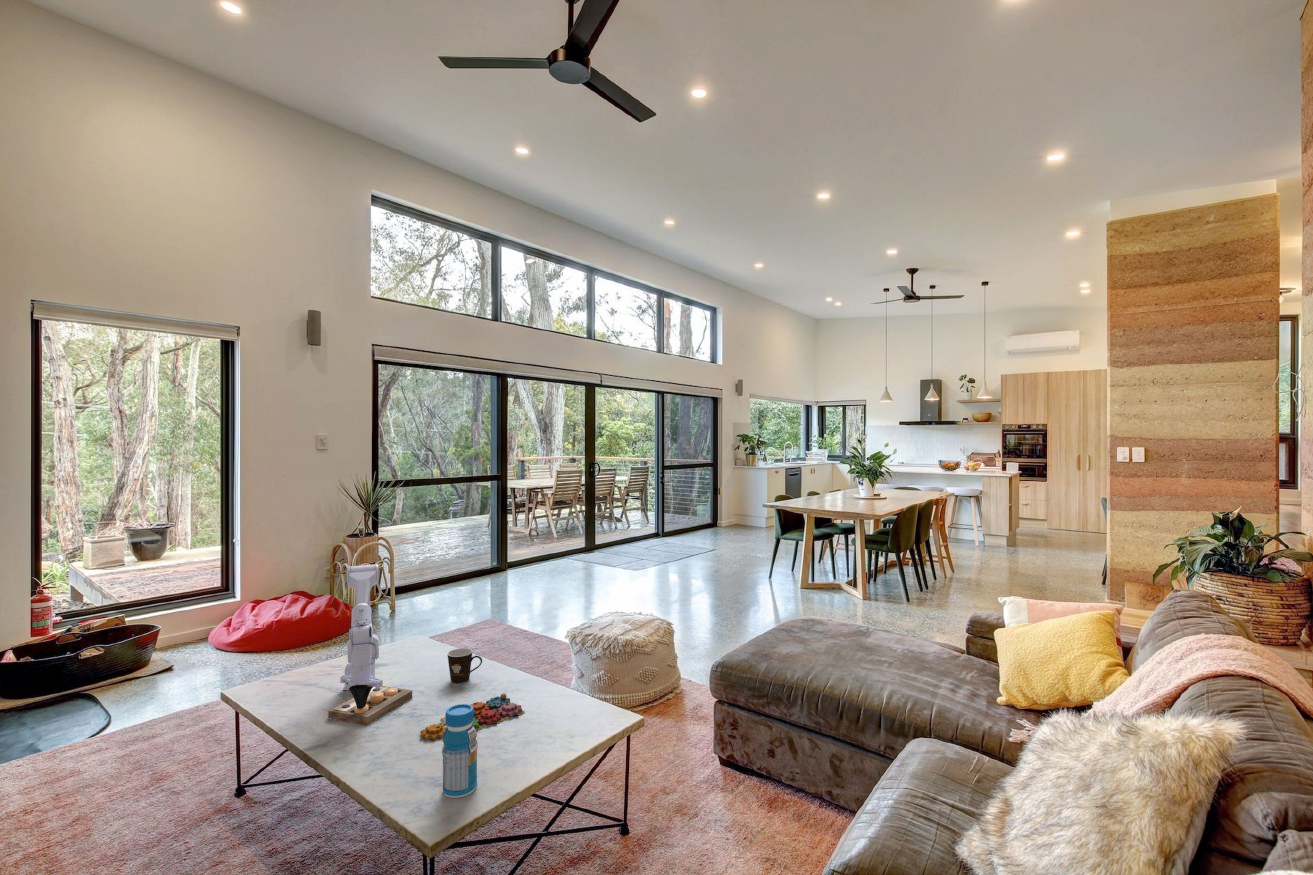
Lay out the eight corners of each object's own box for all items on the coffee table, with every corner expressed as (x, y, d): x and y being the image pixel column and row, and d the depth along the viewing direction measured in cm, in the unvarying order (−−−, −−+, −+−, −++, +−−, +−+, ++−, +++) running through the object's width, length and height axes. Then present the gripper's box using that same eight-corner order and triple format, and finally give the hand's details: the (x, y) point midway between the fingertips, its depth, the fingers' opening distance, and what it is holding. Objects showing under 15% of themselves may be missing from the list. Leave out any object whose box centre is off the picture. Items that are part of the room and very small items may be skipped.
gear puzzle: (430, 750, 168) (430, 736, 168) (408, 730, 180) (408, 716, 180) (527, 714, 190) (527, 701, 190) (501, 698, 201) (501, 686, 201)
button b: (367, 703, 192) (367, 696, 192) (376, 698, 196) (376, 691, 196) (377, 704, 191) (377, 698, 191) (386, 699, 194) (386, 692, 194)
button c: (381, 698, 198) (381, 692, 198) (390, 693, 202) (390, 687, 202) (391, 700, 197) (391, 693, 197) (400, 695, 201) (400, 688, 201)
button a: (351, 716, 185) (351, 709, 185) (361, 710, 189) (361, 703, 189) (361, 718, 184) (361, 710, 184) (371, 712, 188) (371, 705, 188)
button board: (328, 718, 186) (328, 709, 186) (375, 692, 205) (375, 683, 205) (367, 725, 182) (367, 716, 182) (412, 697, 201) (412, 689, 201)
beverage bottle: (448, 803, 143) (447, 720, 143) (437, 786, 150) (437, 707, 150) (482, 791, 148) (482, 710, 148) (471, 775, 155) (470, 698, 155)
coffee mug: (442, 681, 214) (442, 654, 214) (460, 673, 221) (460, 646, 221) (466, 688, 208) (466, 659, 208) (483, 679, 216) (483, 651, 216)
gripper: (332, 666, 185) (332, 710, 185) (370, 671, 181) (370, 716, 181) (350, 658, 192) (350, 700, 192) (387, 663, 188) (387, 706, 188)
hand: (361, 707), depth 187 cm, fingers closed, pressing on button a
